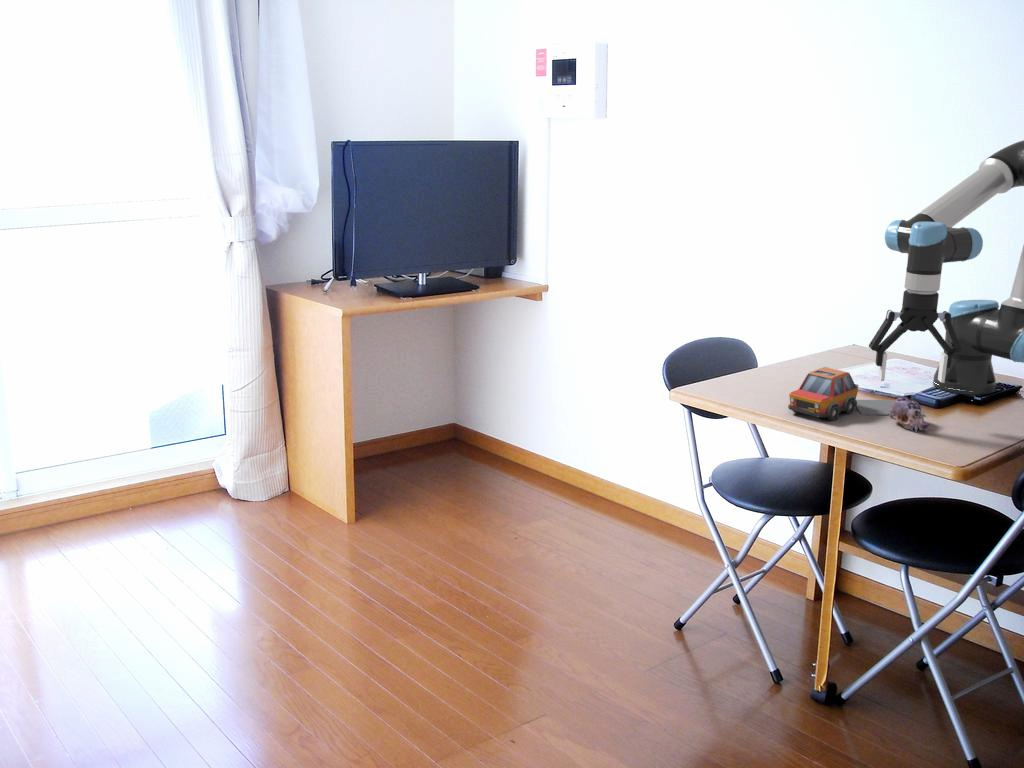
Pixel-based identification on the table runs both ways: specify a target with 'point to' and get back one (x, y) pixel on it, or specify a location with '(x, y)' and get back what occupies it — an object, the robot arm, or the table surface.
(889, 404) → the chock mat
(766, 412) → the table surface
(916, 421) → the skull
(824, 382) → the toy car
